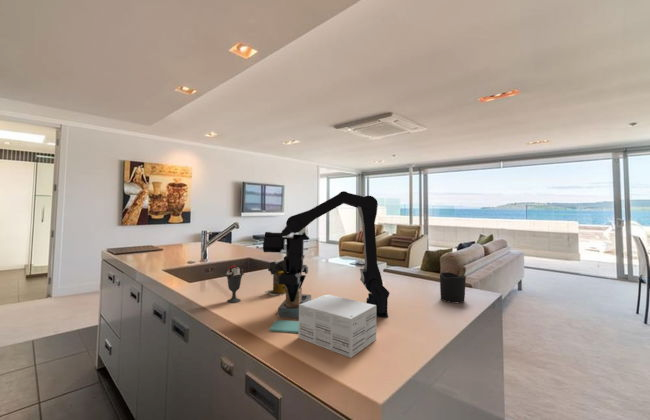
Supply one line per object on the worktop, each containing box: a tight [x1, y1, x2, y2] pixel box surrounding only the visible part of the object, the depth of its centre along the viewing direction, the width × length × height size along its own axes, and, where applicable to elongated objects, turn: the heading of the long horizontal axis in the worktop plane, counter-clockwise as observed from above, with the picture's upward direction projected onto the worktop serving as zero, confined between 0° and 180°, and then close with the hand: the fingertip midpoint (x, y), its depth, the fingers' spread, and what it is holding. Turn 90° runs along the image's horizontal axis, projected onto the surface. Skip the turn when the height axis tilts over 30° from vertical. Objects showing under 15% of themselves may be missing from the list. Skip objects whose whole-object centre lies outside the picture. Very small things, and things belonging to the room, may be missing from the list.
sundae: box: [224, 260, 245, 304], centre depth 104 cm, size 7×7×15 cm
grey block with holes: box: [277, 293, 312, 320], centre depth 96 cm, size 8×16×3 cm, turn 173°
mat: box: [268, 319, 299, 334], centre depth 81 cm, size 9×7×1 cm
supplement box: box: [297, 293, 377, 359], centre depth 74 cm, size 17×13×9 cm
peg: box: [285, 287, 303, 307], centre depth 92 cm, size 4×4×8 cm
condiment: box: [265, 271, 288, 297], centre depth 116 cm, size 7×8×12 cm
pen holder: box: [439, 271, 467, 303], centre depth 110 cm, size 9×9×10 cm
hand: (293, 299), depth 92 cm, fingers closed on peg, 4 cm apart
